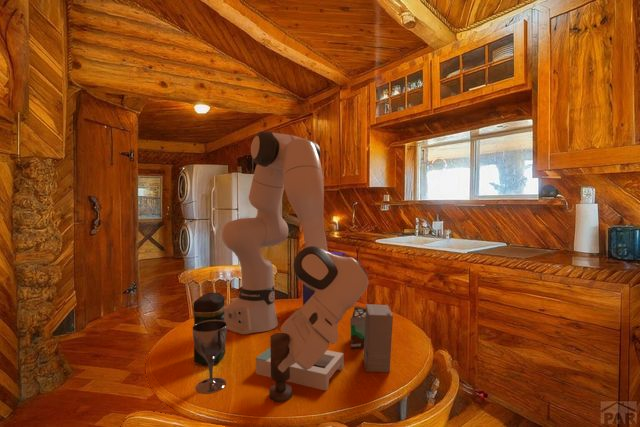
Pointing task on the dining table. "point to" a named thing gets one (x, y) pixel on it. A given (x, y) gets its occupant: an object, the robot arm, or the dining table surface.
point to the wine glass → (210, 350)
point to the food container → (358, 327)
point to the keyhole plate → (308, 377)
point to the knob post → (278, 353)
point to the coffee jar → (208, 318)
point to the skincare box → (377, 338)
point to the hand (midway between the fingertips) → (277, 363)
